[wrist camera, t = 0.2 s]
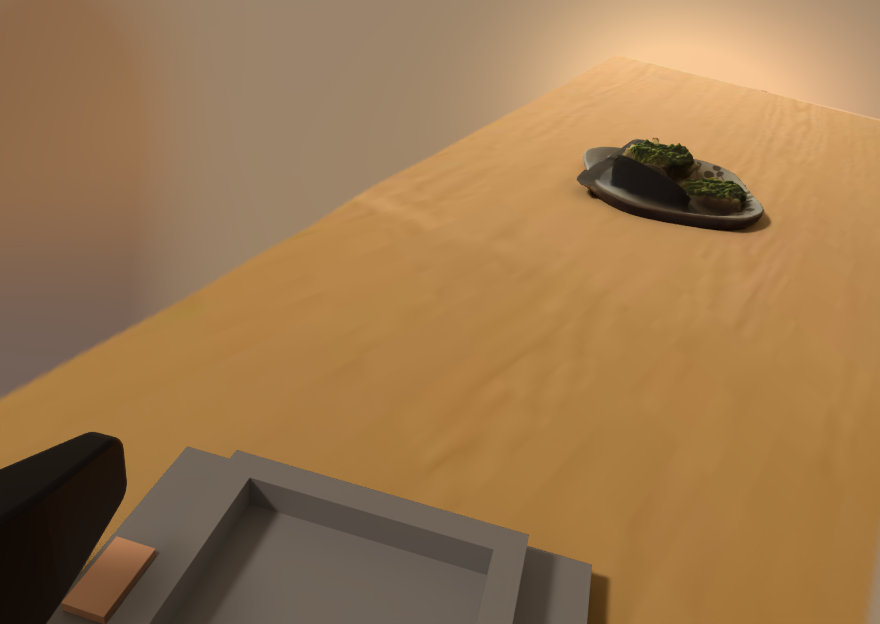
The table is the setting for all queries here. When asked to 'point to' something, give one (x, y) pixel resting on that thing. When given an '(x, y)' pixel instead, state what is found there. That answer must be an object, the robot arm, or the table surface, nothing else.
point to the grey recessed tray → (312, 557)
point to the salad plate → (669, 186)
